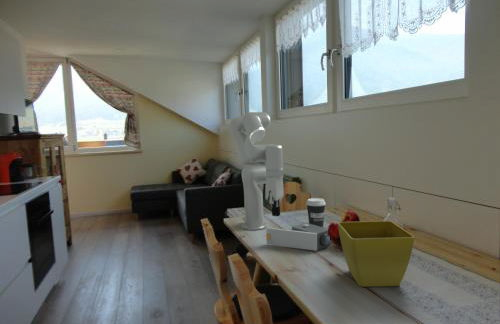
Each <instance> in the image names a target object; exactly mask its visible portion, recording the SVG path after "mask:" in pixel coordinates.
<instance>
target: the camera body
mask: <svg viewBox="0 0 500 324" xmlns="http://www.w3.org/2000/svg"><path fill="white" fill-rule="evenodd" d="M328 229H329V228H327V227H324V226H323V227H320V226H316V225H312V224H309V222H304V223H301V224H297V225H293V226H291V230H293V231H302V232H310V233H317V251H319V250H323V249H325V248H327V247H330V246H331V245H332V239H331V240H330V236H329V235H328Z"/></svg>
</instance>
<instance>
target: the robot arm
mask: <svg viewBox="0 0 500 324" xmlns="http://www.w3.org/2000/svg"><path fill="white" fill-rule="evenodd" d="M270 126H271V117H270V115H269V114H268V112H264V111H252V112H251V111H250V112H246V113H244V114H243V115H242V116H235V117H233V118H231V120H230V122H229V130H230V135H231V137H232V139H233V140H234V142H235V144H236V146H237V152H238V156H239V160H240V163H241V164H242V166H245V167H244V168H243V169H242V170H241V180H242V184H243V197H244V199H243V201H244V204H243V205H244V217H242V218H241V220H242V221H243V222H244V223H242V225H241V227H242V228H243V229H245V230H247V231H248V230H249V231H259V230H263V229H266V228H268V227H267V226H268V225H267V223H266V222H264V198H263V197H264V195H265V201H267V202H268V201H269V204H270V206H271V215H272V217H280V216H281V201H282V199H283V198H284V196H285V195H284V193H285V191H284V179H283V178H284V159H283V158H284V157H283V156H284V155H283V154H284V153H283V151H284V150H283V147H282V145H281V144H274V143H270V144H266V143H265V144H257V143H258V142H261V141H262V140H263V139H264V138H265V136H266V130H267V129H268V128H270ZM264 184H265V193H264V195H263V190H262V189H261V188H260V187H259V186H258V185H264Z"/></svg>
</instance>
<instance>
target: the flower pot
mask: <svg viewBox="0 0 500 324" xmlns="http://www.w3.org/2000/svg"><path fill="white" fill-rule="evenodd" d="M337 229H338V234H339V239H340V240H339V241H340V244H341V248H342V252H343V255H344V259H345V263H346V265H347V268H348V270H349V272H350V274H351V276H352V278H353V279H354V280H355V283H356V284H357V285H358V286H359V287H362V288H363V287H364V288H365V287H399V286H400V285H401V282H402V281H403V279H404V277H405V273H406V271H407V270H408V266H409V263H410V260H411V256H412V252H413V247H414V242H415V236H414V235H413V234H412V233H410V232H408V231H407V230H405V229H404V228H402V227H401V226H399V225H398V224H396V222H393V220H374V221H373V220H372V221H371V220H370V221H369V220H366V221H339V222H337Z"/></svg>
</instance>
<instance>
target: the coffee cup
mask: <svg viewBox="0 0 500 324" xmlns="http://www.w3.org/2000/svg"><path fill="white" fill-rule="evenodd" d="M326 203H327V202H326V201H325V199H324V198H319V197H311V198H308V199H307V201H306V203H305V205H306V207H307V217H308V223H309V224H312V225H316V226H320V227H324V221H325V208H326V205H327V204H326Z"/></svg>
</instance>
